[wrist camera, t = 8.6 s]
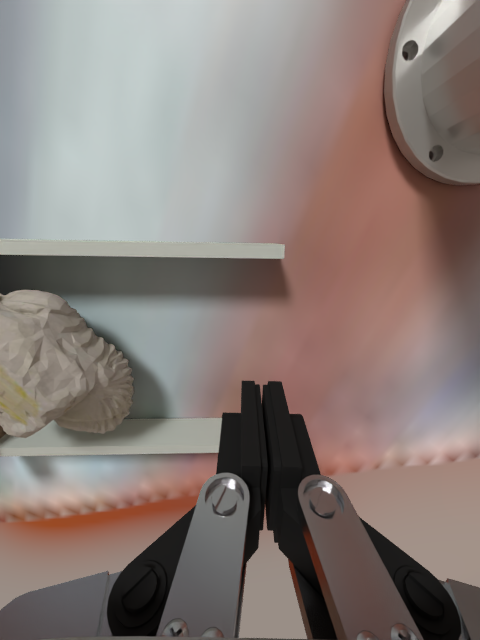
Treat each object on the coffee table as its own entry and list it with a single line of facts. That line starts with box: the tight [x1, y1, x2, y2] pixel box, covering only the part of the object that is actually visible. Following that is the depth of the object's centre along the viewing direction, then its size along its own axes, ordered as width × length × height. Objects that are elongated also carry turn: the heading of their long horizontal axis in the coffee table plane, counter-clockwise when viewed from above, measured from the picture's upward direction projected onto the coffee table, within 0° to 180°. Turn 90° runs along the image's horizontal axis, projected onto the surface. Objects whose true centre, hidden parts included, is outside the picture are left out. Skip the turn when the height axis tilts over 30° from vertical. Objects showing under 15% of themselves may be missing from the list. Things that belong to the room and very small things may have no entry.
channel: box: [0, 239, 285, 456], centre depth 17 cm, size 23×16×5 cm
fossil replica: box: [0, 290, 134, 438], centre depth 16 cm, size 12×8×10 cm
